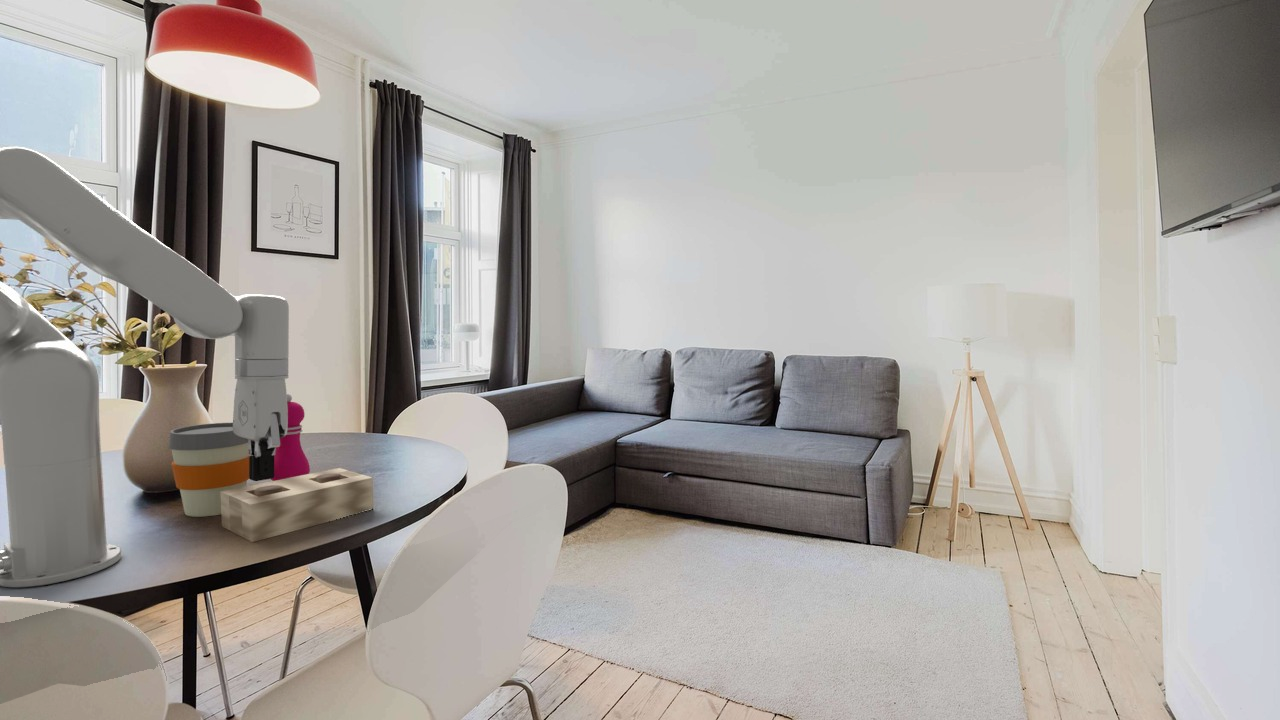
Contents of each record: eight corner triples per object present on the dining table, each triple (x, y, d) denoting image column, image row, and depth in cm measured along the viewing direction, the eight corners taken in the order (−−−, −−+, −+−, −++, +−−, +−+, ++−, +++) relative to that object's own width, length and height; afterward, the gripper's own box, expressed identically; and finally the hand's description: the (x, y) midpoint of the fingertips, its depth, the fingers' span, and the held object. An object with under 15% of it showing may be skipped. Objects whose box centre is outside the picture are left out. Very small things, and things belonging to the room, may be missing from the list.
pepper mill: (291, 498, 116) (288, 396, 115) (260, 496, 118) (256, 395, 116) (318, 488, 123) (315, 392, 122) (288, 486, 125) (285, 391, 123)
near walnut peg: (262, 529, 98) (260, 493, 98) (251, 524, 100) (250, 489, 100) (287, 522, 101) (286, 487, 101) (277, 517, 104) (276, 483, 103)
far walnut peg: (323, 513, 106) (322, 480, 106) (313, 509, 108) (311, 476, 108) (346, 507, 109) (345, 475, 109) (335, 503, 112) (334, 472, 111)
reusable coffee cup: (271, 500, 115) (268, 423, 114) (216, 521, 103) (212, 435, 102) (214, 497, 117) (211, 421, 116) (153, 517, 105) (148, 433, 104)
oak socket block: (252, 542, 93) (250, 504, 93) (221, 526, 100) (220, 491, 100) (373, 509, 109) (372, 477, 109) (340, 498, 116) (339, 467, 116)
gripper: (218, 367, 100) (218, 475, 101) (256, 373, 92) (255, 491, 92) (267, 366, 106) (266, 468, 107) (307, 371, 98) (306, 482, 98)
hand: (261, 478), depth 100 cm, fingers closed
